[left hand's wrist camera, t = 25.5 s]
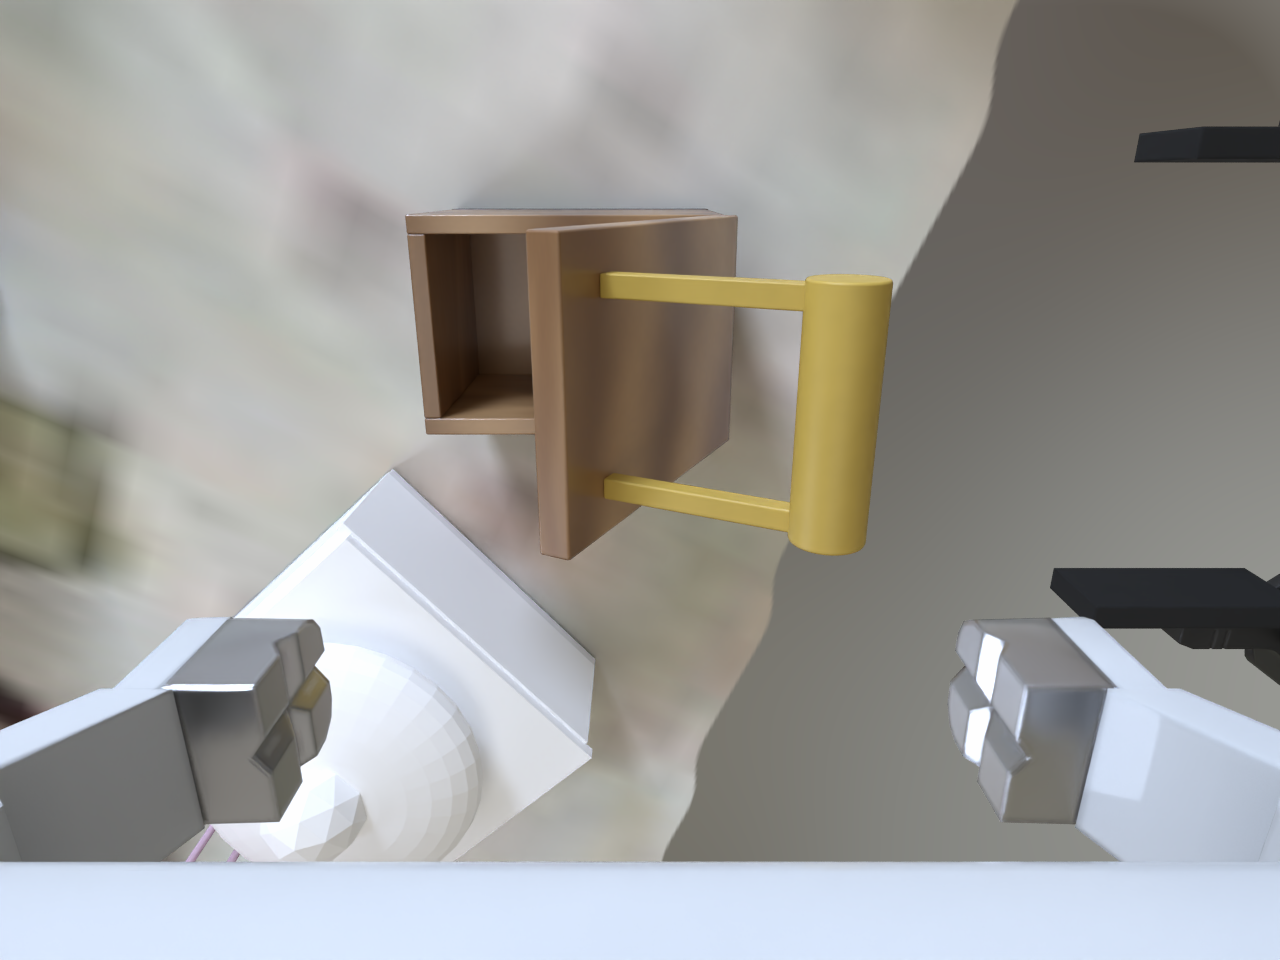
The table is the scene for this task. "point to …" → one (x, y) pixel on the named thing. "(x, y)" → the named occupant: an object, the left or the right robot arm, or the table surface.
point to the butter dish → (420, 692)
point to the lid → (690, 381)
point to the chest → (484, 311)
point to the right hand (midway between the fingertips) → (1112, 393)
